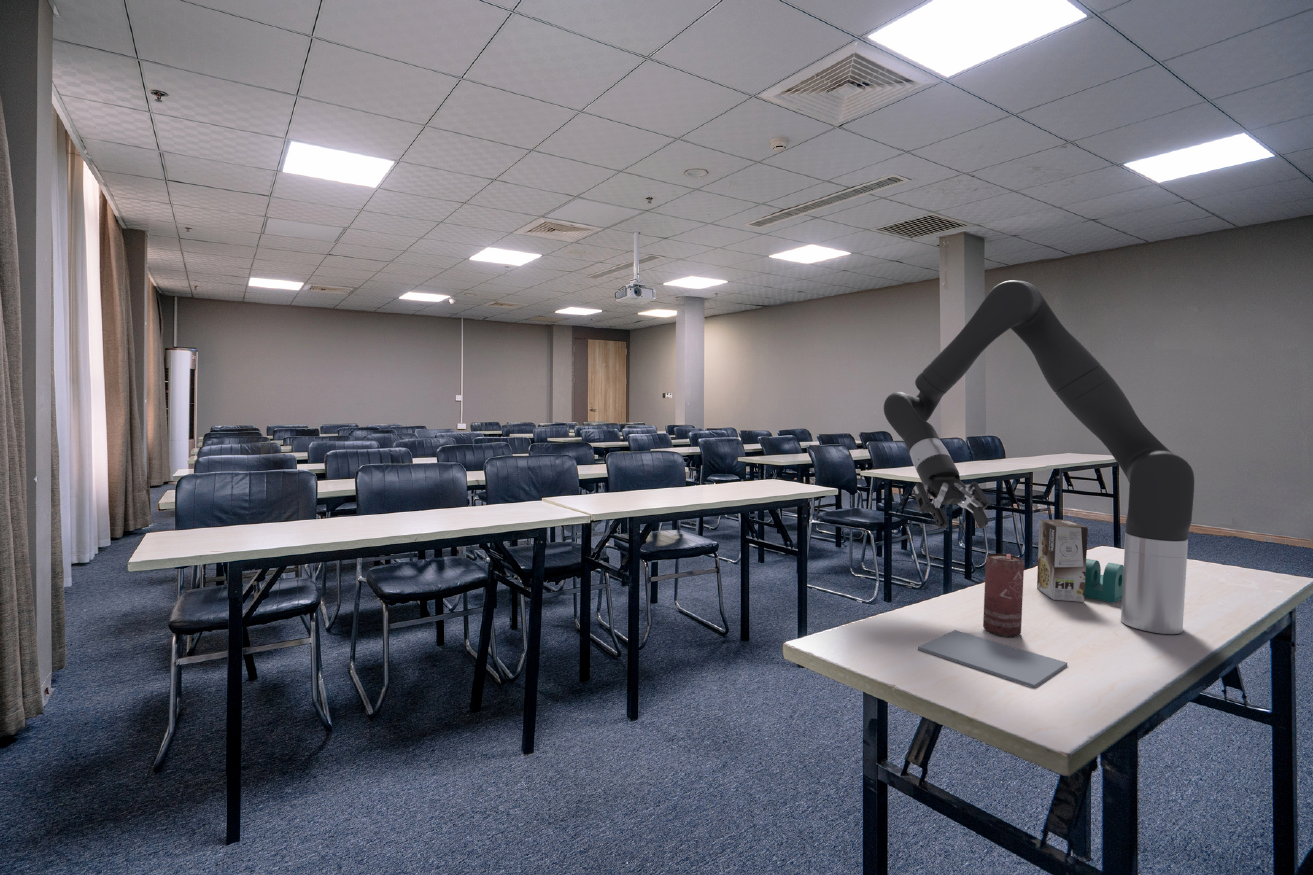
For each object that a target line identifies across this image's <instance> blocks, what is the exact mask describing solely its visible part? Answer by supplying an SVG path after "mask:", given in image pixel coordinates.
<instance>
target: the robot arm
mask: <svg viewBox="0 0 1313 875" xmlns="http://www.w3.org/2000/svg"><path fill="white" fill-rule="evenodd" d="M1010 329H1011V330H1012V332H1014V333H1015V334H1016V335H1017V336H1018V338H1020V339H1021V341H1022V342H1023V343H1024V344H1025V345H1026V346H1027V347H1028V349H1029V350H1030V352H1031V353H1032V356H1034V358H1035V361H1036V362H1037V365H1038V367H1039V369H1040V371H1041V373H1042V375H1043V377H1044V379H1045V381H1046V383H1047V384H1048V385H1049V387H1050V389H1051V390H1052V391H1053V393H1055V395H1056V396H1057V397H1058V399H1060V401H1061V403H1062V404H1064V406H1065V407H1066V408H1067V409H1068V410H1069V412H1071V414H1073V415H1074V417H1076V418H1077V420H1078V421H1079V422H1080V423H1081V424H1083V425H1084V426H1085V428H1087V429H1088V430H1089V431H1090V432H1091V433H1092V434H1093V435H1094V436H1095V437H1097V439H1098V440H1099V441H1101V443H1102V444H1103V445H1104V446H1105V448H1107V450H1108V452H1110V454H1111V456H1112V457H1113V458H1114V460H1115V462H1116V463H1117V464H1118V465H1119V467H1120V469H1121V470H1122V472H1123V474H1124V475H1125V477H1126V479H1127V481H1128V483H1129V488H1128V489H1129V490H1128V508H1127V515H1126V519H1125V531H1124V532H1125V533H1124V535H1125V536H1124V549H1123V550H1124V553H1123V566H1124V569H1123V588H1122V599H1121V608H1120V610H1121V612H1120V622H1122V623H1123V624H1125V625H1126V626H1128V627H1130V628H1133V629H1137V630H1141V631H1145V632H1149V633H1155V634H1156V633H1157V634H1162V635H1178V634H1181V633H1183V632H1184V631H1183V630H1184V628H1183V627H1184V615H1185V614H1184V613H1185V598H1186V582H1187V581H1186V580H1187V568H1188V566H1187V565H1188V564H1187V563H1188V548H1189V547H1188V545H1189V543H1188V542H1189V532H1190V531H1189V530H1190V528H1191V525H1192V518H1193V508H1194V507H1193V506H1194V497H1195V473H1194V470H1193V468H1192V466H1191V465H1190V463H1189V462H1188V461H1187V460H1186V459H1184V458H1183V457H1181V456H1179V455H1177V454H1175V453H1173V451H1171V450H1170V449H1169V448H1167V447H1166V445H1165V444H1163V443H1162V442H1161V441H1160V440H1159V439H1158V438H1157V437H1156V436H1155V435H1154V434H1153V433H1152V432H1151V431H1150V430H1149V429H1148V428H1147V427H1146V426H1145V425H1144V423H1143V422H1142V421H1141V420H1140V418H1139V416H1138V415H1137V413H1136V412H1135V410H1134V408H1133V406H1132V405H1131V402H1130V401H1129V399H1128V397H1127V396H1126V395H1125V394H1124V391H1123V390H1122V389H1121V387H1120V385H1119V384H1118V382H1116V380H1115V379H1114V377H1112V375H1111V374H1110V373H1109V372H1108V371H1107V370H1106V369H1105V367H1104V366H1103V365H1102V364H1101V363H1100V362H1099V360H1097V359H1096V357H1095V356H1093V354H1092V353H1091V352H1090V351H1089V350H1088V349H1087V348H1086V347H1085V346H1084V345H1083V344H1082V343H1081V342H1080V341H1079V340H1078V339H1077V338H1076V337H1075V336H1074V335H1073V334H1072V333H1070V331H1068V330H1067V328H1066V327H1064V325H1063V324H1062V322H1061V321H1060V320H1059V318H1058V317H1057V316H1056V314H1055V312H1053V310H1052V308H1051V307H1050V306H1049V304H1048V302H1047V301H1046V299H1045V298H1044V296H1043V295H1042V293H1041V292H1040V290H1039V289H1038V288H1037V287H1036V285H1034V284H1032V283H1031V282H1028V281H1025V280H1013V279H1012V280H1006V281H1003V282H1001V283H998V284H997V285H995V286H994V287H993V288H992V289H991V290H990V291H989V292H988V294H987V295H986V297H985V298H984V299H983V301H982V302H981V303H980V305H979V306H978V308H977V309H976V311H975V313H974V314H973V315H972V317H971V318H970V319H969V320H968V321H967V323H966V324H965V326H964V327H963V328H962V329H961V330H960V332H959V333H958V334H957V335H956V336H955V337H954V338H953V340H952V341H951V342H950V343H948V344H947V345H946V347H945V348H943V350H941V352H940V353H939V354H938V355H937V356H936V357H935V358H934V359H933V360H932V361H931V362H930V363H929V364H928V365H927V366H926V367H925V368H924V369H923V370H922V371H921V372H920V374H918V375H917V376H916V378H915V381H914V383H915V384H914V385H915V387H916V389H917V390H918V391H919V393H918V394H917V395H916V396H914V395H911V394H908V393H906V392H902V391H895V392H892V393H891V394H889V395H888V396H887V397H886V399H885V401H884V403H883V414H884V416H885V419H886V420H887V422H888V423H889V425H890V426H891V428H893V430H894V431H895V432H896V433H897V435H898V436H899V437H900V438H901V439H902V441H903V443H904V445H905V447H906V449H907V451H908V453H909V456H910V459H911V462H912V464H913V466H914V468H915V470H916V473H917V475H918V477H919V479H920V481H918V482H917V483H916V484H915V486H914V487H913V489H912V492H913V495H914V498H915V500H916V503H917V505H918V509H919V512H922V513H926V512H928V513H929V514H931V515H932V517H933V519H934V521H935V524H936V526H937V527H939V528H940V529H941V530H946V528H947V527H948V526H949V524H950V523H949V521H948V518H947V515H946V514H945V512H944V510H943V508H941V506H942V505H943V506H944V505H946V506H947V505H956V506H957V505H958V506H959V507H961V508H962V509H966V510H968V511H969V512H971V514H972V517H973V518H974V521H975V522H976V525H977V527H978V528H979V529H985V528H986V527H987V525H988V523H989V519H988V517H987V515H986V512H985V509H987V507H988V506H989V505H990V502H989V500H988V498H987V496H986V495H985V493H984V492H983V490H982V489H981V487H980V486H979V483H977V481H972V482H971V483H970V484H965V483H963V482H962V481H961V477H960V476H961V475H960V472H959V470H958V468H957V466H956V464H955V462H954V461H953V459H952V456H951V455H950V453H949V451H948V448H946V446H945V445H944V444H943V442H942V441H941V438H940V437H939V434H938V433H937V431H936V428H934V426H933V425H932V424H931V423H929V422H928V421H929V420H930V418H931V417H932V415H933V413H934V411H935V410H936V408H937V407H938V405H939V403H940V401H941V400H942V397H944V395H946V393H948V392H949V391H950V390H951V388H953V386H955V385H956V384H957V383H958V382H959V381H960V380H961V378H962V377H964V376H965V374H967V372H968V371H969V369H970V368H971V367H972V365H973V364H974V363H975V361H976V360H977V359H978V358H979V356H980V355H981V354H982V353H983V352H984V350H986V348H988V347H989V346H990V345H991V344H992V343H993V342H994V341H995V340H996V339H997V338H999V337H1000V336H1001V335H1003V334H1004V333H1005V332H1007V331H1008V330H1010ZM929 496H931V497H932V498H933V499H932V501H931V500H930V498H929ZM964 497H965V498H966V499H965V500H964V501H963V499H964Z"/></svg>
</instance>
